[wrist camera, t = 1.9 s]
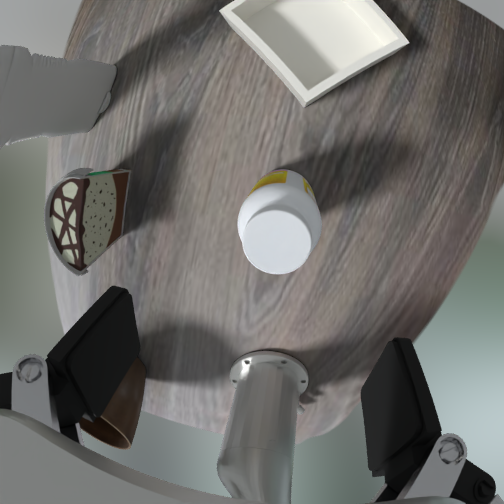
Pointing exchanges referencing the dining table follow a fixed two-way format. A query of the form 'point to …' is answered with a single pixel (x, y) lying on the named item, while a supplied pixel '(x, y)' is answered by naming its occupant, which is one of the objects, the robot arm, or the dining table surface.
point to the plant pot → (120, 411)
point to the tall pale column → (50, 94)
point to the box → (315, 39)
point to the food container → (86, 215)
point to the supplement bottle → (279, 222)
